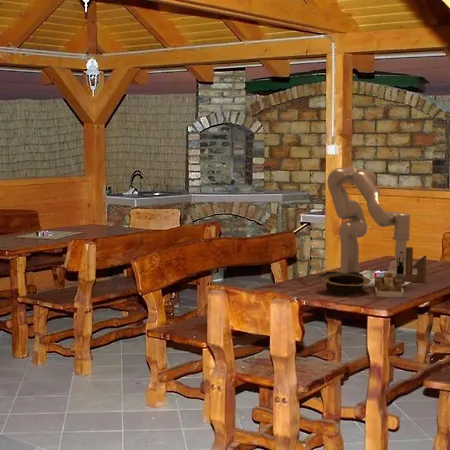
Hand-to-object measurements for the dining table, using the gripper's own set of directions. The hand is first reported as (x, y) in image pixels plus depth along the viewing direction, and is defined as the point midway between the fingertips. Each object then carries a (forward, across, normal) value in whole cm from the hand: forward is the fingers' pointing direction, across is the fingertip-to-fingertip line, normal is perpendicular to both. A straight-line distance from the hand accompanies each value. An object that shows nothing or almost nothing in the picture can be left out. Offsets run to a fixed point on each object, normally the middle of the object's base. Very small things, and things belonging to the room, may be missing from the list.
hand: (399, 272), depth 420 cm
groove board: (+7, +11, -6) cm, 14 cm away
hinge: (+8, -34, +4) cm, 36 cm away
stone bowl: (+8, +20, -27) cm, 34 cm away
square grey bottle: (+6, 0, 0) cm, 6 cm away
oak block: (+5, +10, -6) cm, 13 cm away
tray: (+7, +24, -6) cm, 25 cm away
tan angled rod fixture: (+7, -16, +9) cm, 19 cm away
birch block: (+4, +15, -6) cm, 17 cm away
